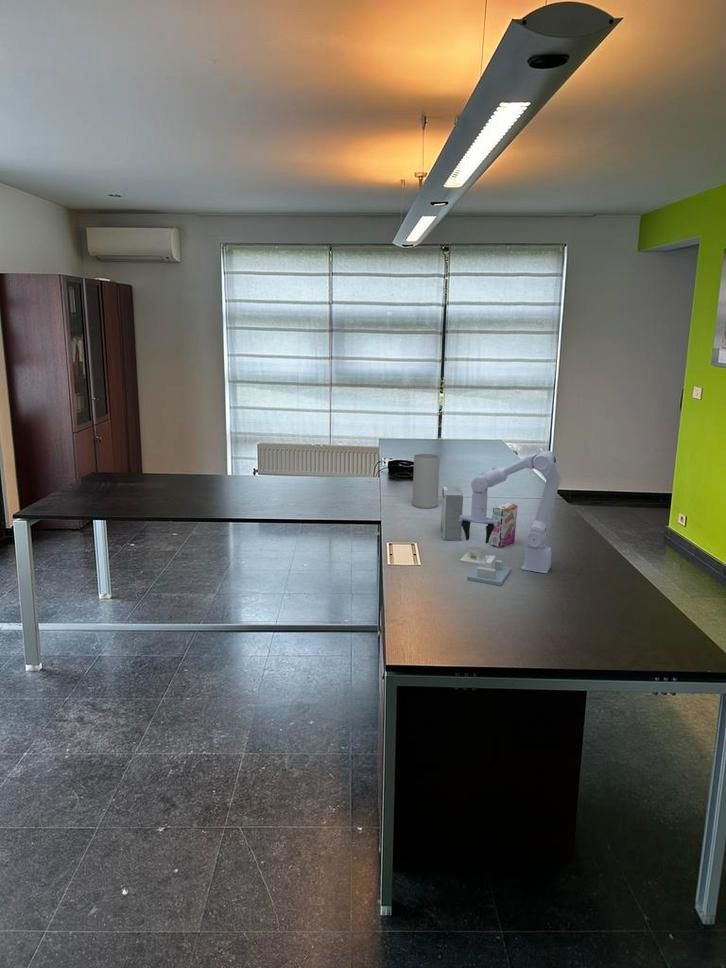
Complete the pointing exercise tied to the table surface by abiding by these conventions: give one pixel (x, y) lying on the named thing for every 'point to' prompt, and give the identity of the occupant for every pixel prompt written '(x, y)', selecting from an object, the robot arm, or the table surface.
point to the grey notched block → (476, 550)
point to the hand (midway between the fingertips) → (477, 541)
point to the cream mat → (473, 559)
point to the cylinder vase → (426, 480)
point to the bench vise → (490, 572)
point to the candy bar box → (504, 525)
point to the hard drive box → (451, 512)
